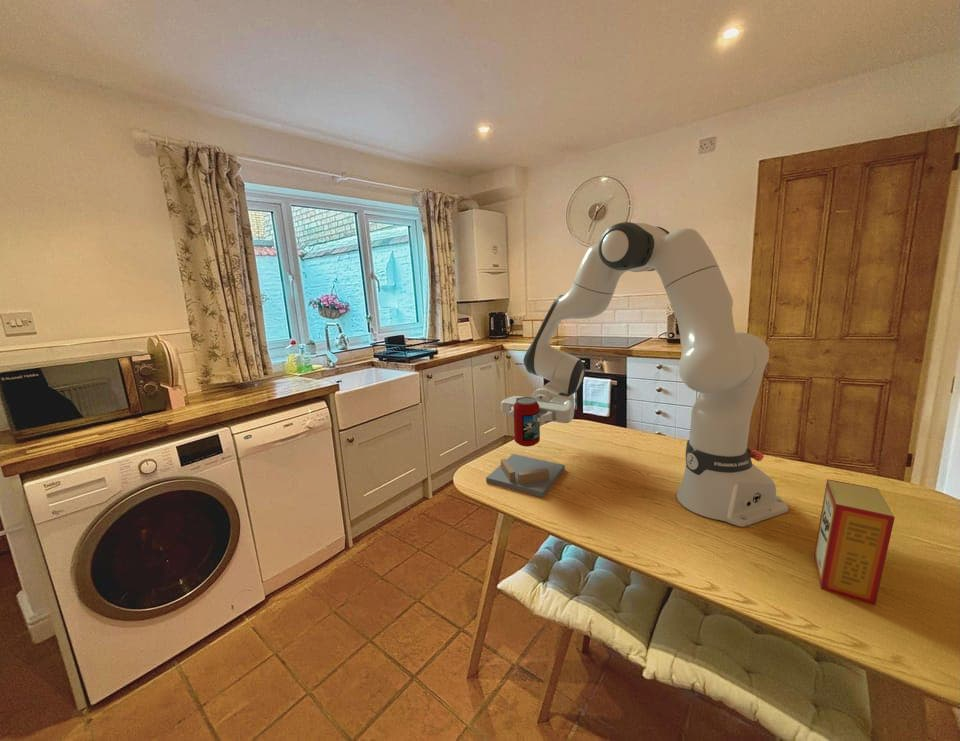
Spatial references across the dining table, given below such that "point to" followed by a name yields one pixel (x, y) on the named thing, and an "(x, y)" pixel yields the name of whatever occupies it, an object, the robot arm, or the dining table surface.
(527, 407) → the beverage can
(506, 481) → the v stop plate
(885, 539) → the baking soda box
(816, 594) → the dining table surface
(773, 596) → the dining table surface
